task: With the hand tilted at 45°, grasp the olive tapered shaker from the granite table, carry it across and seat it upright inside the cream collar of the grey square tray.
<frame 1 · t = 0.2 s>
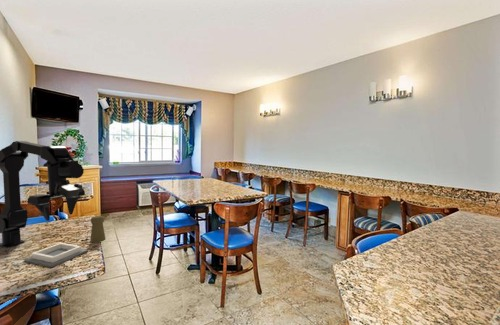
hand: (59, 217, 101), 14 cm above the table, tool pointing down, fingers open, 9 cm apart
olive tapered shaker: (97, 240, 116), on the table
grey square tray: (57, 256, 99), on the table
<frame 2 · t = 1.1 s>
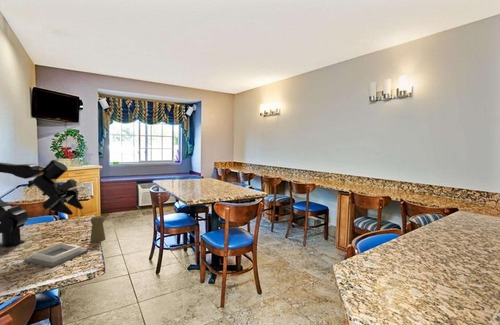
hand: (77, 211, 114), 13 cm above the table, tool tilted 45°, fingers open, 9 cm apart
nothing on the table moved.
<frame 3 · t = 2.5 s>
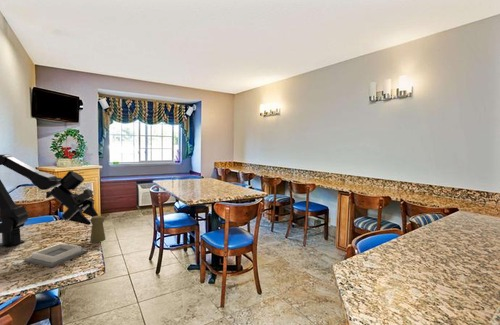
hand: (94, 220, 115), 9 cm above the table, tool tilted 45°, fingers open, 9 cm apart
nothing on the table moved.
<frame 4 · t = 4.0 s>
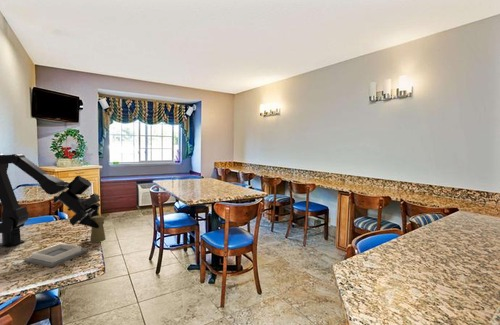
hand: (101, 225, 116), 7 cm above the table, tool tilted 45°, fingers closed on olive tapered shaker, 5 cm apart
olive tapered shaker: (98, 240, 116), on the table, touching gripper
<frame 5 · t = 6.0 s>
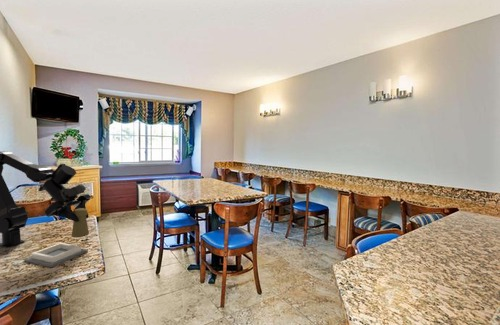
hand: (83, 219, 106), 12 cm above the table, tool tilted 45°, fingers closed on olive tapered shaker, 5 cm apart
olive tapered shaker: (80, 235, 107), point 5 cm above the table, touching gripper
when the fingers open (9 cm above the table, at t = 8.1 s): olive tapered shaker drops 1 cm, resting on grey square tray.
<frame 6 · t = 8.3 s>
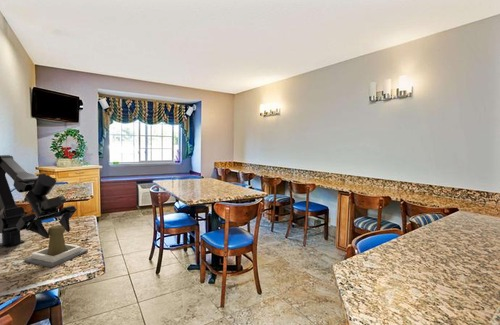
hand: (59, 234, 98), 9 cm above the table, tool tilted 45°, fingers open, 7 cm apart
olive tapered shaker: (57, 254, 99), point 1 cm above the table, touching grey square tray
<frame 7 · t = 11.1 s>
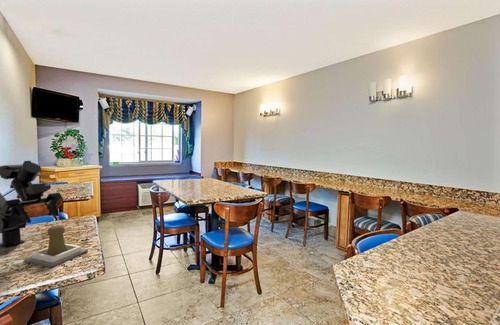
hand: (43, 219, 101), 14 cm above the table, tool tilted 45°, fingers open, 9 cm apart
nothing on the table moved.
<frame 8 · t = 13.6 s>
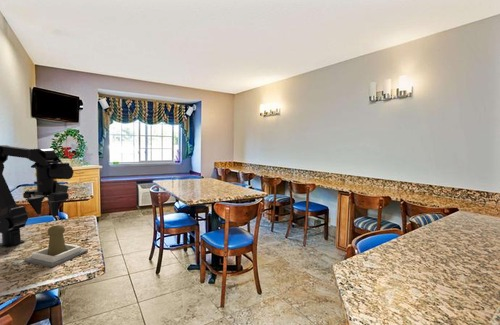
hand: (46, 215, 108), 13 cm above the table, tool pointing down, fingers open, 9 cm apart
nothing on the table moved.
at the end: olive tapered shaker 0.1 cm off-centre on the grey square tray, point 0.6 cm above the grey square tray's base; olive tapered shaker tilted 0°; the gripper is holding nothing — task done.
